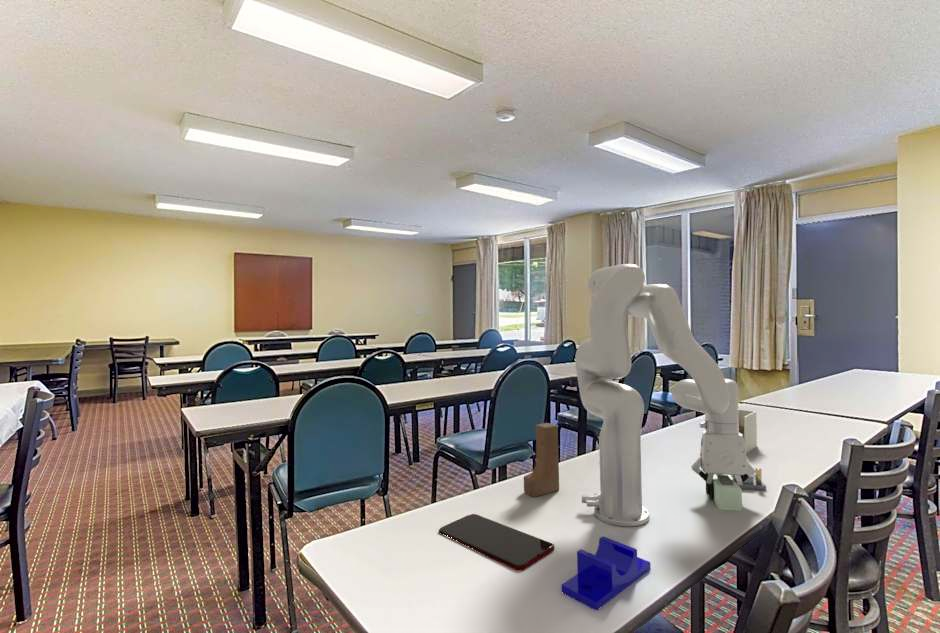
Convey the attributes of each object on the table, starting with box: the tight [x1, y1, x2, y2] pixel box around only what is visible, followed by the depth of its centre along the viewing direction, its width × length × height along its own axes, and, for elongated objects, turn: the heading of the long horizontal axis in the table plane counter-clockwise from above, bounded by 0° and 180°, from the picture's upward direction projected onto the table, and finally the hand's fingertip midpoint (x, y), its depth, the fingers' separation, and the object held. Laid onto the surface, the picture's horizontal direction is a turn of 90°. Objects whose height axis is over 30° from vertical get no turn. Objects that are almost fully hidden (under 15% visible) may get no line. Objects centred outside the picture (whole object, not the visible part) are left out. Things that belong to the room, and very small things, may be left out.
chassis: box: [700, 466, 767, 491], centre depth 139 cm, size 12×20×5 cm, turn 167°
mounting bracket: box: [560, 535, 651, 611], centre depth 88 cm, size 18×7×6 cm, turn 132°
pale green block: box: [712, 474, 743, 511], centre depth 123 cm, size 5×13×6 cm, turn 166°
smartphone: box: [438, 513, 555, 571], centre depth 105 cm, size 12×2×25 cm
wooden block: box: [523, 422, 560, 498], centre depth 131 cm, size 9×4×18 cm, turn 119°
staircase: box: [738, 408, 758, 454], centre depth 166 cm, size 9×11×17 cm
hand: (723, 497), depth 123 cm, fingers closed on pale green block, 5 cm apart
